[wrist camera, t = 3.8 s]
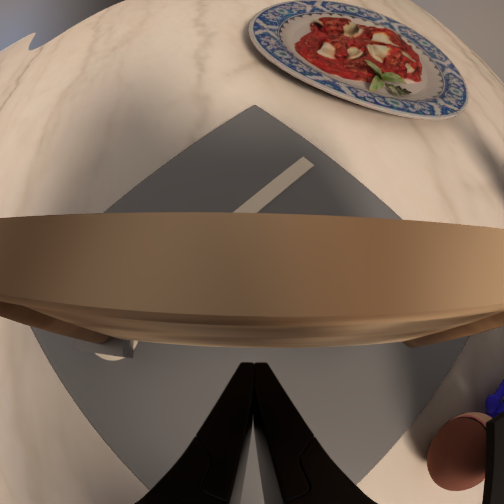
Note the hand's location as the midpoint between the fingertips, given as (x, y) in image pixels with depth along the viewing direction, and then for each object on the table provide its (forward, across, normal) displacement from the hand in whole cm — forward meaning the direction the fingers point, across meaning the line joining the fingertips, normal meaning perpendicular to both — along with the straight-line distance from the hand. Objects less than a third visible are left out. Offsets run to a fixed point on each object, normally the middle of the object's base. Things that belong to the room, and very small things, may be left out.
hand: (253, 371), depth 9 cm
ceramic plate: (+27, -12, -17) cm, 34 cm away
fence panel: (+4, 0, +2) cm, 5 cm away
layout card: (+7, 0, +3) cm, 7 cm away
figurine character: (+1, -18, +9) cm, 20 cm away
